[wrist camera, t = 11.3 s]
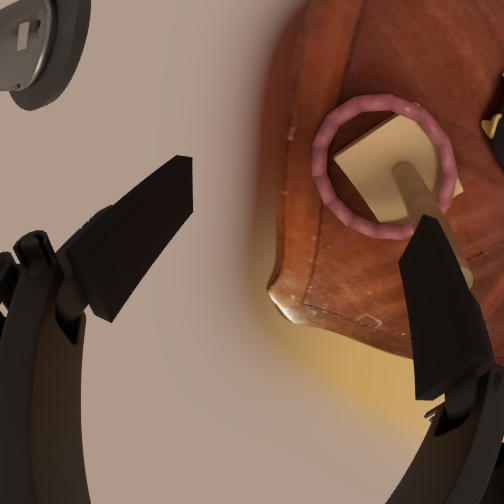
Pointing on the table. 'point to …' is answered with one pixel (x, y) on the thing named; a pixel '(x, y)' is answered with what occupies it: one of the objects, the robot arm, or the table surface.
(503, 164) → the gaming controller
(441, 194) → the ring
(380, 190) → the stand
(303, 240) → the table surface
